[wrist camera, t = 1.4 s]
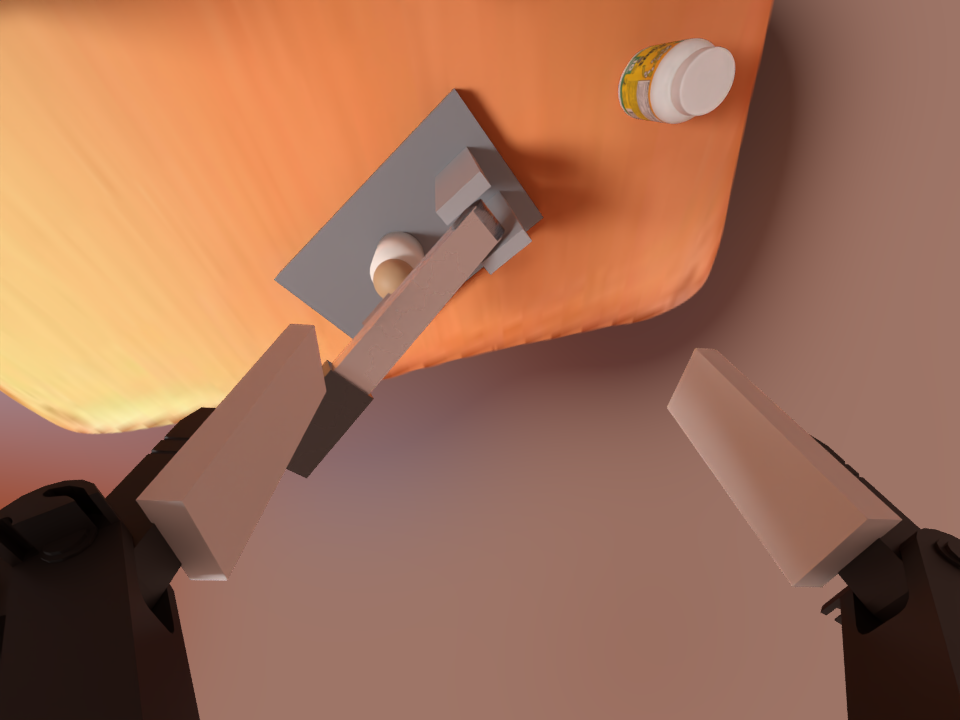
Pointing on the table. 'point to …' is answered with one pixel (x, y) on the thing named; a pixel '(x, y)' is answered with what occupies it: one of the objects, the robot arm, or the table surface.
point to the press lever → (394, 331)
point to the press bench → (409, 217)
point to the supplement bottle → (676, 81)
